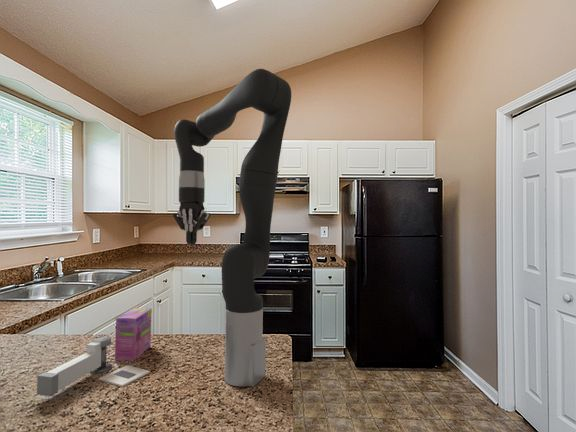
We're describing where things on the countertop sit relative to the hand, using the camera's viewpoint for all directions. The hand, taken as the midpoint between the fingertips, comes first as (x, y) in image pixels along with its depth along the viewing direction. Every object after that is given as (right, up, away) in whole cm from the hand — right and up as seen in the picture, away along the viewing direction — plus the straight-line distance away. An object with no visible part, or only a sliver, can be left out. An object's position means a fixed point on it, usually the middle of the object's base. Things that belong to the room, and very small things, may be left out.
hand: (191, 244), depth 98 cm
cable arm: (-21, -30, -21) cm, 42 cm away
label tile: (-11, -31, -18) cm, 38 cm away
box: (-16, -32, -3) cm, 36 cm away
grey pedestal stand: (-19, -31, -14) cm, 39 cm away
